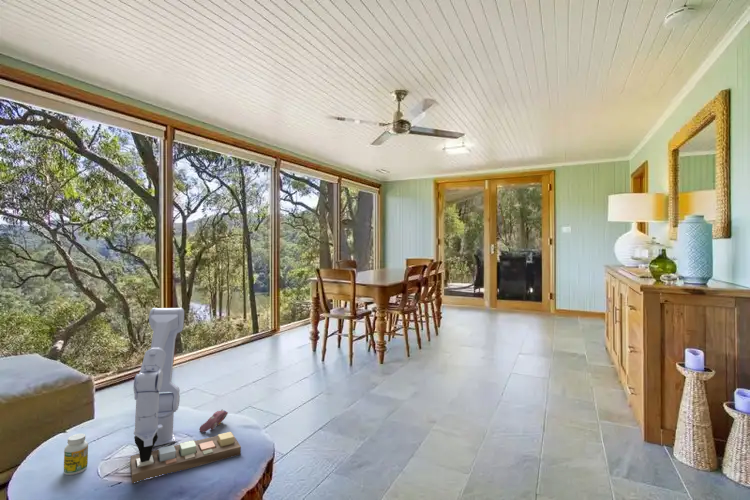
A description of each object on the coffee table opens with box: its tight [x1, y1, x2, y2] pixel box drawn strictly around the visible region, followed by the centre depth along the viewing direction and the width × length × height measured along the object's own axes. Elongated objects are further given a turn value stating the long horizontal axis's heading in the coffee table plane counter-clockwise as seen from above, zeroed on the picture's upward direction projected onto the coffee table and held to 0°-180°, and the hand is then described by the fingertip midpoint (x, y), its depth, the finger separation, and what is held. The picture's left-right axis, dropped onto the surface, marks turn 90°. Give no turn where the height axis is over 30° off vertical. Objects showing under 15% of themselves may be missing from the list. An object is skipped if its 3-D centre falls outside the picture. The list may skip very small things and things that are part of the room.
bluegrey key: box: [158, 444, 176, 462], centre depth 113 cm, size 4×4×3 cm
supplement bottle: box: [63, 433, 89, 476], centre depth 108 cm, size 5×5×10 cm
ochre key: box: [217, 431, 235, 447], centre depth 123 cm, size 4×4×3 cm
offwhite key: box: [136, 455, 154, 468], centre depth 110 cm, size 4×4×3 cm
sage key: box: [179, 439, 196, 456], centre depth 116 cm, size 4×4×3 cm
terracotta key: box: [199, 441, 215, 451], centre depth 119 cm, size 4×4×3 cm
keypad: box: [129, 431, 242, 484], centre depth 116 cm, size 11×29×3 cm, turn 125°
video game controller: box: [199, 409, 229, 433], centre depth 137 cm, size 10×5×7 cm, turn 169°
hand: (145, 460), depth 110 cm, fingers closed, pressing on offwhite key
